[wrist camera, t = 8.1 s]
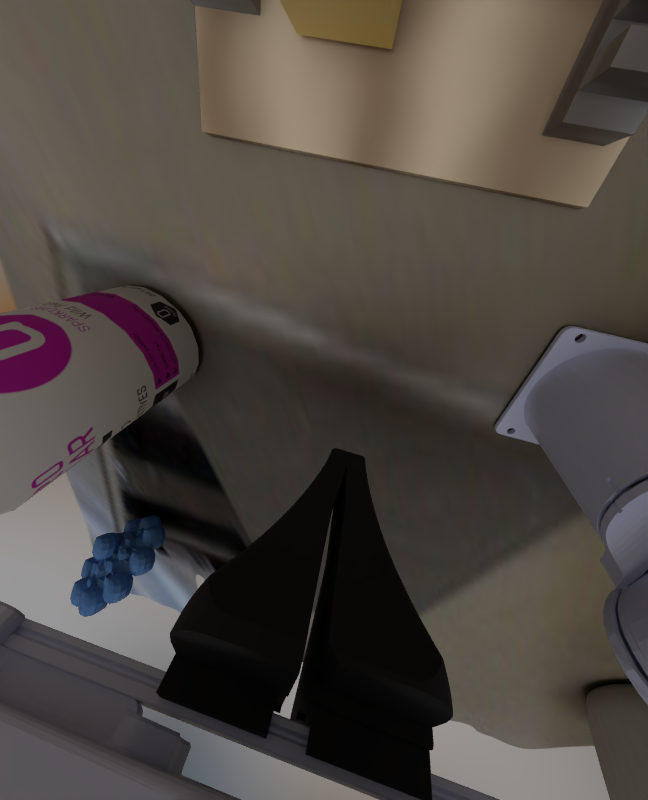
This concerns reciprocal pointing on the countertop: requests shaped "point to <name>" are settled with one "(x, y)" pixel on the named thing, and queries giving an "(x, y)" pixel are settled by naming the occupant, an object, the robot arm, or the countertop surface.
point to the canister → (620, 739)
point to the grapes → (117, 564)
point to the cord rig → (438, 90)
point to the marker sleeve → (346, 20)
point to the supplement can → (82, 379)
